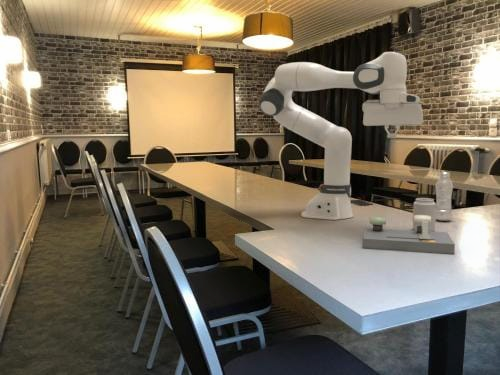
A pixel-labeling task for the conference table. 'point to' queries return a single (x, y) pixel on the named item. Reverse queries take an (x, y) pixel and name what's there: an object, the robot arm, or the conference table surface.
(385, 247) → the control panel
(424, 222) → the paddle lever
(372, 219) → the sage button
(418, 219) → the cream button
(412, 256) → the conference table surface
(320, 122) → the robot arm
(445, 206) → the plastic bottle
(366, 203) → the phone
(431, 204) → the can
